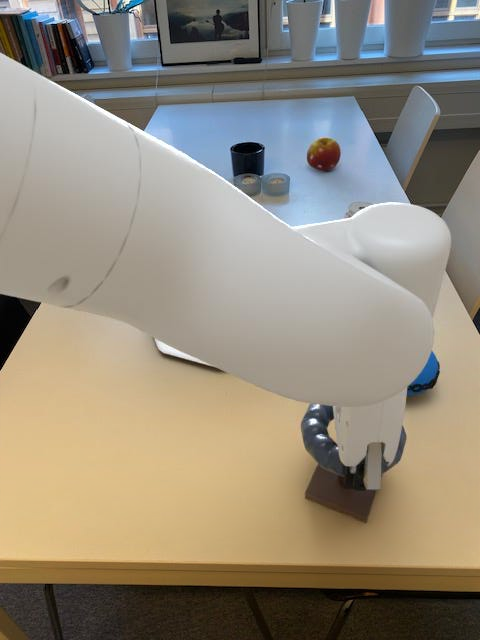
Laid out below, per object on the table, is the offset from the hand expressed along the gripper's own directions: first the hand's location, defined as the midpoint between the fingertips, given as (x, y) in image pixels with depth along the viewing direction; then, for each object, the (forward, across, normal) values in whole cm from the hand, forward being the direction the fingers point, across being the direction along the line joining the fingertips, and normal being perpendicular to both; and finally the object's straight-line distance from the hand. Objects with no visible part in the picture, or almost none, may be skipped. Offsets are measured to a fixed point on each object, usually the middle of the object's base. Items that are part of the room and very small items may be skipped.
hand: (356, 468), depth 54 cm
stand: (+10, -4, 0) cm, 11 cm away
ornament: (+10, -21, +11) cm, 26 cm away
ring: (-1, -4, 0) cm, 4 cm away
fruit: (+10, -105, +5) cm, 106 cm away
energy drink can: (+10, -52, +7) cm, 53 cm away
